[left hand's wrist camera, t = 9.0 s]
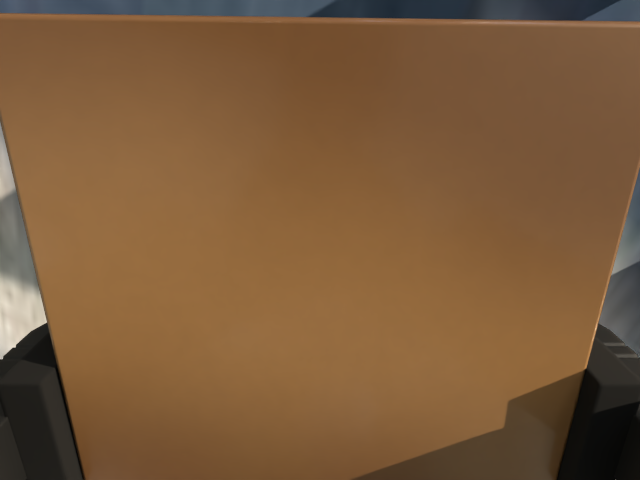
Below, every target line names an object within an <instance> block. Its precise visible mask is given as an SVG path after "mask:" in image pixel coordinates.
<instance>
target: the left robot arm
mask: <svg viewBox="0 0 640 480" xmlns="http://www.w3.org/2000/svg"><path fill="white" fill-rule="evenodd" d="M615 479H616V480H640V358H638V355H637V354H636V353H635V352H634V351H633V350H632V349H630V348H629V347H628V346H625V343H624V342H623V341H621V340H620V339H619V338H618V337H617V336H616V335H615V334H614V333H612V332H611V331H610V330H609V329H607V328H605V327H603V326H602V325H600V324H598V326H597V330H596V334H595V337H594V341H593V345H592V349H591V352H590V356H589V360H588V364H587V368H586V369H585V373H584V377H583V381H582V385H581V389H580V393H579V397H578V401H577V405H576V409H575V413H574V416H573V420H572V424H571V428H570V432H569V435H568V439H567V443H566V447H565V450H564V454H563V458H562V462H561V466H560V469H559V473H558V477H557V480H615ZM0 480H84V478H83V474H82V470H81V465H80V461H79V457H78V452H77V448H76V444H75V439H74V435H73V431H72V427H71V422H70V418H69V414H68V409H67V405H66V401H65V397H64V392H63V388H62V384H61V379H60V375H59V371H58V367H57V362H56V358H55V354H54V349H53V345H52V341H51V336H50V332H49V328H48V324H47V323H46V324H44V325H42V326H40V327H38V328H36V329H35V330H33V331H31V332H30V333H29V334H28V335H27V336H25V337H24V338H23V339H22V340H21V341H20V342H19V343H18V344H17V345H16V348H12V349H11V350H10V351H9V352H8V353H7V354H6V355H4V356H3V359H0Z"/></svg>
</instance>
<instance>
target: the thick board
mask: <svg viewBox="0 0 640 480" xmlns="http://www.w3.org/2000/svg"><path fill="white" fill-rule="evenodd" d="M0 122H1V126H2V130H3V135H4V139H5V143H6V148H7V152H8V156H9V160H10V165H11V169H12V173H13V178H14V182H15V186H16V191H17V195H18V199H19V203H20V208H21V212H22V216H23V221H24V225H25V229H26V233H27V238H28V242H29V246H30V251H31V255H32V259H33V263H34V268H35V272H36V276H37V281H38V285H39V289H40V294H41V298H42V302H43V306H44V311H45V315H46V319H47V324H48V328H49V332H50V336H51V341H52V345H53V349H54V354H55V358H56V362H57V367H58V371H59V375H60V379H61V384H62V388H63V392H64V397H65V401H66V405H67V409H68V414H69V418H70V422H71V427H72V431H73V435H74V439H75V444H76V448H77V452H78V457H79V461H80V465H81V470H82V474H83V478H84V480H557V477H558V473H559V469H560V466H561V462H562V458H563V454H564V450H565V447H566V443H567V439H568V435H569V432H570V428H571V424H572V420H573V416H574V413H575V409H576V405H577V401H578V397H579V393H580V389H581V385H582V381H583V377H584V373H585V369H586V368H587V364H588V360H589V356H590V352H591V349H592V345H593V341H594V337H595V334H596V330H597V326H598V322H599V319H600V315H601V311H602V307H603V303H604V300H605V296H606V292H607V288H608V285H609V281H610V277H611V273H612V270H613V266H614V262H615V258H616V254H617V251H618V247H619V243H620V239H621V236H622V232H623V228H624V224H625V221H626V217H627V213H628V209H629V205H630V202H631V198H632V194H633V190H634V187H635V183H636V179H637V175H638V172H639V168H640V22H631V21H556V20H480V19H405V18H330V17H254V16H179V15H104V14H28V13H0Z"/></svg>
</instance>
